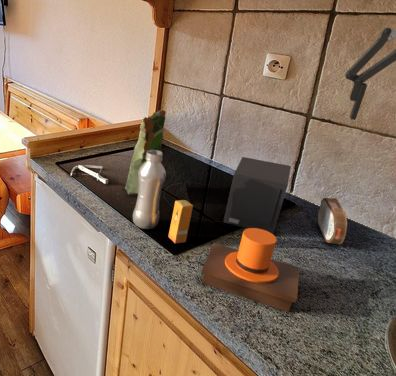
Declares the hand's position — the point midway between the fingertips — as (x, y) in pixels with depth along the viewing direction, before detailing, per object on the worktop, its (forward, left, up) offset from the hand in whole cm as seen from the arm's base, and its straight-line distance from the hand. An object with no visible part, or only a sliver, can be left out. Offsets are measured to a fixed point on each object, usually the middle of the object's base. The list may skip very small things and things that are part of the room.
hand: (395, 124), depth 75 cm
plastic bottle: (+43, +6, -33) cm, 54 cm away
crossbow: (+69, -15, -33) cm, 78 cm away
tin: (+2, -15, -33) cm, 36 cm away
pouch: (+50, -12, -33) cm, 61 cm away
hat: (+17, +17, -29) cm, 37 cm away
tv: (+20, -14, -33) cm, 41 cm away
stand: (+17, +17, -33) cm, 41 cm away
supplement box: (+34, +8, -33) cm, 48 cm away
